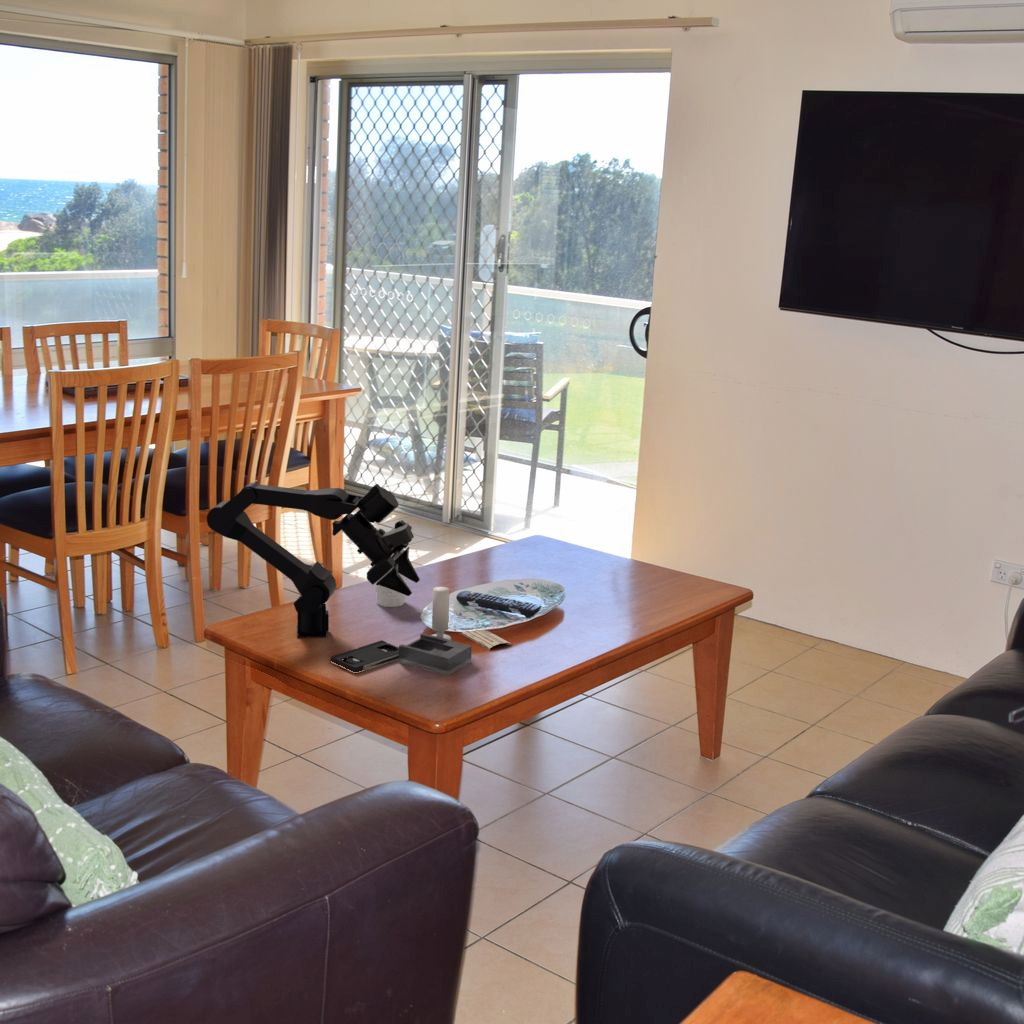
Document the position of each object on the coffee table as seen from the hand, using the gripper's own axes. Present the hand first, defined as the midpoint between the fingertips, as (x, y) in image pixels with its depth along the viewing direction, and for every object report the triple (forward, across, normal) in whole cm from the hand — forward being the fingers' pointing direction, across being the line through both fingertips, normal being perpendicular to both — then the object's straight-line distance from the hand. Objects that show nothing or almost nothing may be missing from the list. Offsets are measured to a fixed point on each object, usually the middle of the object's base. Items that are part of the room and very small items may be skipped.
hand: (414, 587), depth 261 cm
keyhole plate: (+14, -11, +4) cm, 18 cm away
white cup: (+2, +24, +16) cm, 28 cm away
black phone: (+4, -13, +14) cm, 20 cm away
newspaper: (+18, +9, +1) cm, 20 cm away
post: (+13, 0, +5) cm, 14 cm away
